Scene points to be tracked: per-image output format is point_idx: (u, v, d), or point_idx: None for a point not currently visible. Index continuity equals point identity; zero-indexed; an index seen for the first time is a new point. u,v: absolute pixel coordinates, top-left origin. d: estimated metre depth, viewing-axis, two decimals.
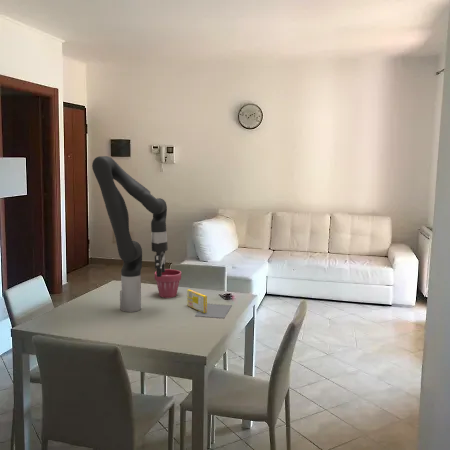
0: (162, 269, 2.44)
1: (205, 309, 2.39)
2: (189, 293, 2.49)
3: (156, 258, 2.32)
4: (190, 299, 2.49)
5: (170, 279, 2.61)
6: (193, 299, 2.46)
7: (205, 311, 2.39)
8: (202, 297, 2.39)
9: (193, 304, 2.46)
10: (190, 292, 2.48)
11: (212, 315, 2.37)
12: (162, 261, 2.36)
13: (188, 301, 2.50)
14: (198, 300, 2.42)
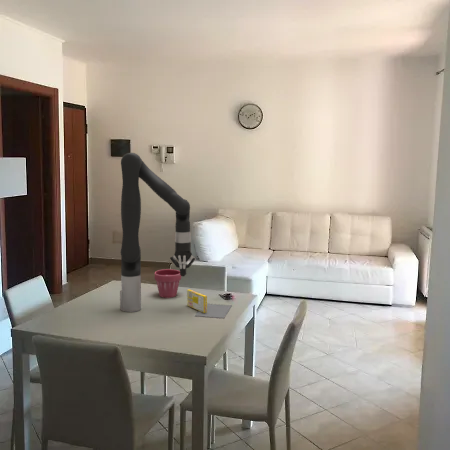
0: None
1: (205, 309, 2.39)
2: (189, 293, 2.49)
3: (194, 260, 2.43)
4: (190, 299, 2.49)
5: (170, 279, 2.61)
6: (193, 299, 2.46)
7: (205, 311, 2.39)
8: (202, 297, 2.39)
9: (193, 304, 2.46)
10: (190, 292, 2.48)
11: (212, 315, 2.37)
12: None
13: (188, 301, 2.50)
14: (198, 300, 2.42)
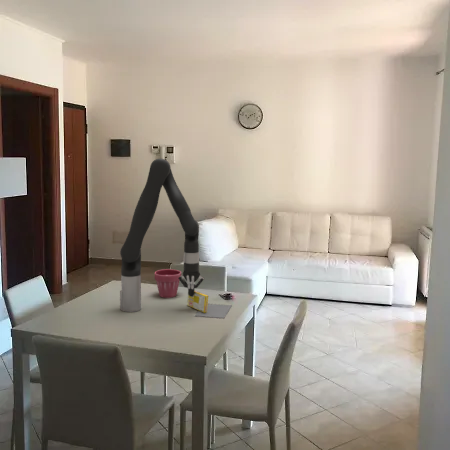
0: None
1: (205, 309, 2.39)
2: None
3: None
4: (191, 298, 2.49)
5: (170, 279, 2.61)
6: (194, 299, 2.46)
7: (205, 311, 2.39)
8: (203, 296, 2.40)
9: (193, 304, 2.47)
10: None
11: (212, 315, 2.37)
12: (195, 281, 2.46)
13: (188, 301, 2.51)
14: (199, 300, 2.42)
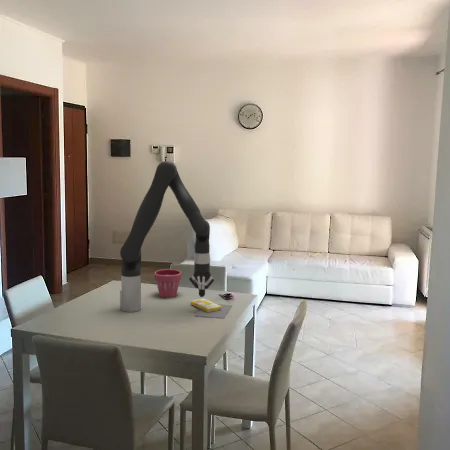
0: None
1: (210, 310, 2.41)
2: (204, 299, 2.55)
3: None
4: (201, 301, 2.52)
5: (170, 279, 2.61)
6: (205, 302, 2.50)
7: (208, 310, 2.40)
8: (218, 305, 2.45)
9: (200, 303, 2.49)
10: (206, 300, 2.54)
11: (212, 315, 2.37)
12: (206, 281, 2.45)
13: (196, 300, 2.53)
14: (211, 304, 2.46)
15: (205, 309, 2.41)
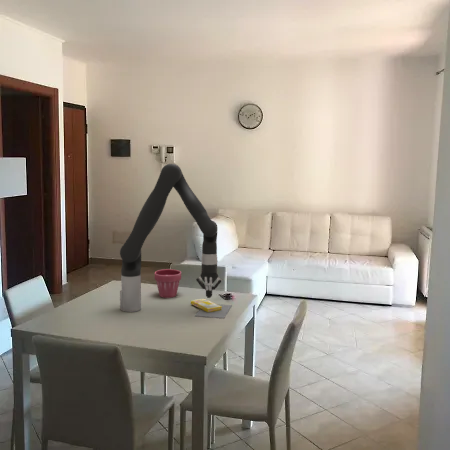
0: None
1: (210, 310, 2.41)
2: (204, 299, 2.55)
3: (220, 282, 2.42)
4: (201, 301, 2.52)
5: (170, 279, 2.61)
6: (205, 302, 2.50)
7: (208, 310, 2.40)
8: (219, 306, 2.45)
9: (200, 303, 2.49)
10: (206, 300, 2.54)
11: (212, 315, 2.37)
12: None
13: (196, 300, 2.53)
14: (211, 304, 2.46)
15: (205, 309, 2.41)
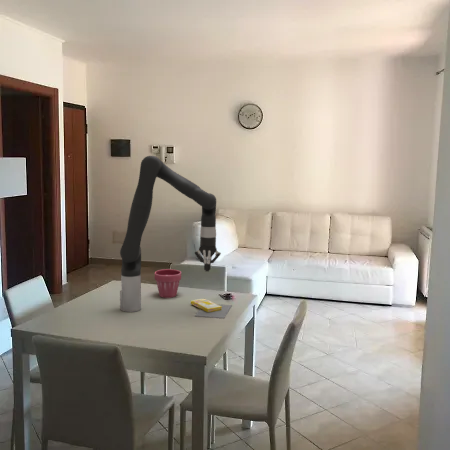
0: None
1: (210, 310, 2.41)
2: (204, 299, 2.55)
3: None
4: (201, 301, 2.52)
5: (170, 279, 2.61)
6: (205, 302, 2.50)
7: (208, 310, 2.40)
8: (219, 306, 2.45)
9: (200, 303, 2.49)
10: (206, 300, 2.54)
11: (212, 315, 2.37)
12: (211, 256, 2.43)
13: (196, 300, 2.53)
14: (211, 304, 2.46)
15: (205, 309, 2.41)
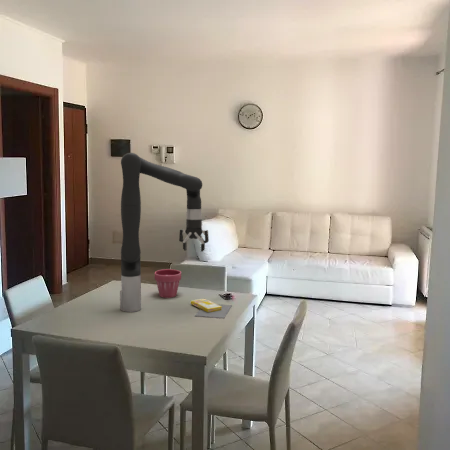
0: (186, 247, 2.48)
1: (210, 310, 2.41)
2: (204, 299, 2.55)
3: (207, 233, 2.45)
4: (201, 301, 2.52)
5: (170, 279, 2.61)
6: (205, 302, 2.50)
7: (208, 310, 2.40)
8: (219, 306, 2.45)
9: (200, 303, 2.49)
10: (206, 300, 2.54)
11: (212, 315, 2.37)
12: (201, 236, 2.47)
13: (196, 300, 2.53)
14: (211, 304, 2.46)
15: (205, 309, 2.41)
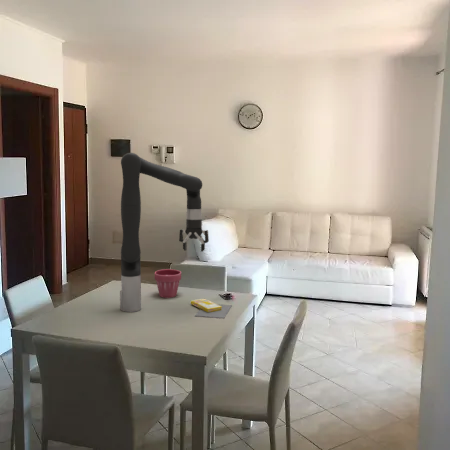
0: (186, 247, 2.48)
1: (210, 310, 2.41)
2: (204, 299, 2.55)
3: (207, 233, 2.45)
4: (201, 301, 2.52)
5: (170, 279, 2.61)
6: (205, 302, 2.50)
7: (208, 310, 2.40)
8: (219, 306, 2.45)
9: (200, 303, 2.49)
10: (206, 300, 2.54)
11: (212, 315, 2.37)
12: (201, 236, 2.47)
13: (196, 300, 2.53)
14: (211, 304, 2.46)
15: (205, 309, 2.41)
